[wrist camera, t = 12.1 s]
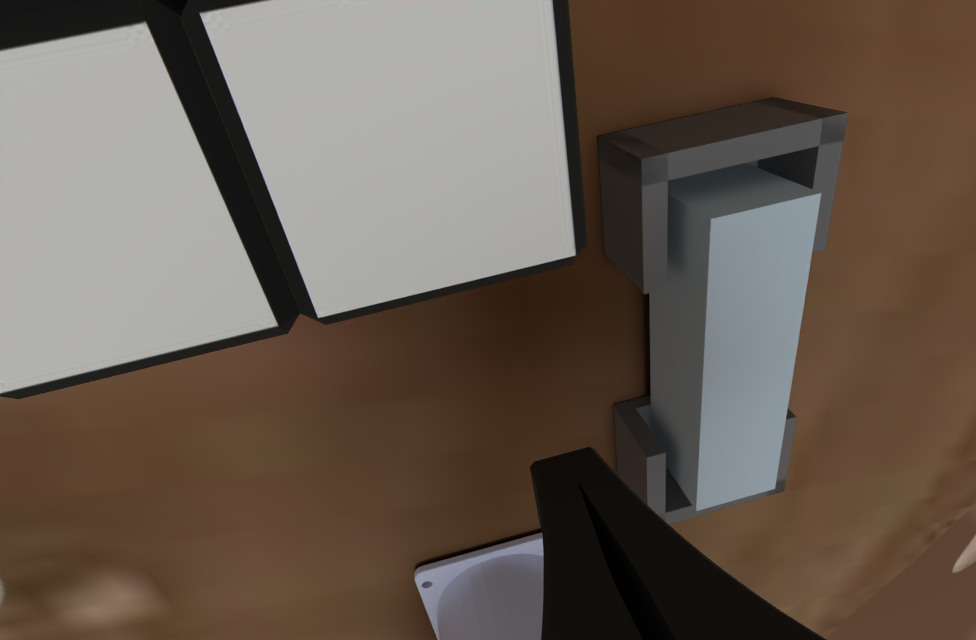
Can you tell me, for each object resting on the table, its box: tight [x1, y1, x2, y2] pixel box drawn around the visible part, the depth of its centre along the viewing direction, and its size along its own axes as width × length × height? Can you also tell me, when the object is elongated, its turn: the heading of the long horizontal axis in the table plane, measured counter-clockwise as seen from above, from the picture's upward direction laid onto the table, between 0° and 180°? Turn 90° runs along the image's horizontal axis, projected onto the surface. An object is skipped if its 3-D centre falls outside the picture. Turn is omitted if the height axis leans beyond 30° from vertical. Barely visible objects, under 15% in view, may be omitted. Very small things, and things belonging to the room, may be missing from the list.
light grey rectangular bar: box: [649, 163, 821, 511], centre depth 20 cm, size 12×3×4 cm, turn 9°
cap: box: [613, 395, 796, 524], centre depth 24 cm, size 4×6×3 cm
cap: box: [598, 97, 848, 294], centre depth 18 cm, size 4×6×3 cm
